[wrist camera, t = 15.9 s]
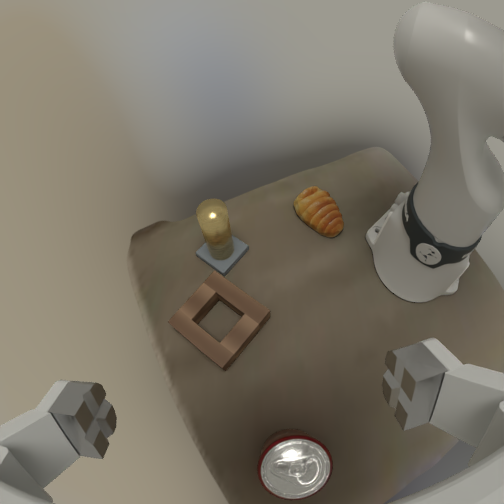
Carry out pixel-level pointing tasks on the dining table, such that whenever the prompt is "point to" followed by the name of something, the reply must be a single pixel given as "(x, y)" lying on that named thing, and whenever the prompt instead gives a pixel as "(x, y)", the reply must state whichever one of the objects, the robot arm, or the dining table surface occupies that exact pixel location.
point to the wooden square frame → (204, 302)
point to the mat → (223, 265)
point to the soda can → (294, 465)
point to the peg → (216, 228)
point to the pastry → (319, 211)
